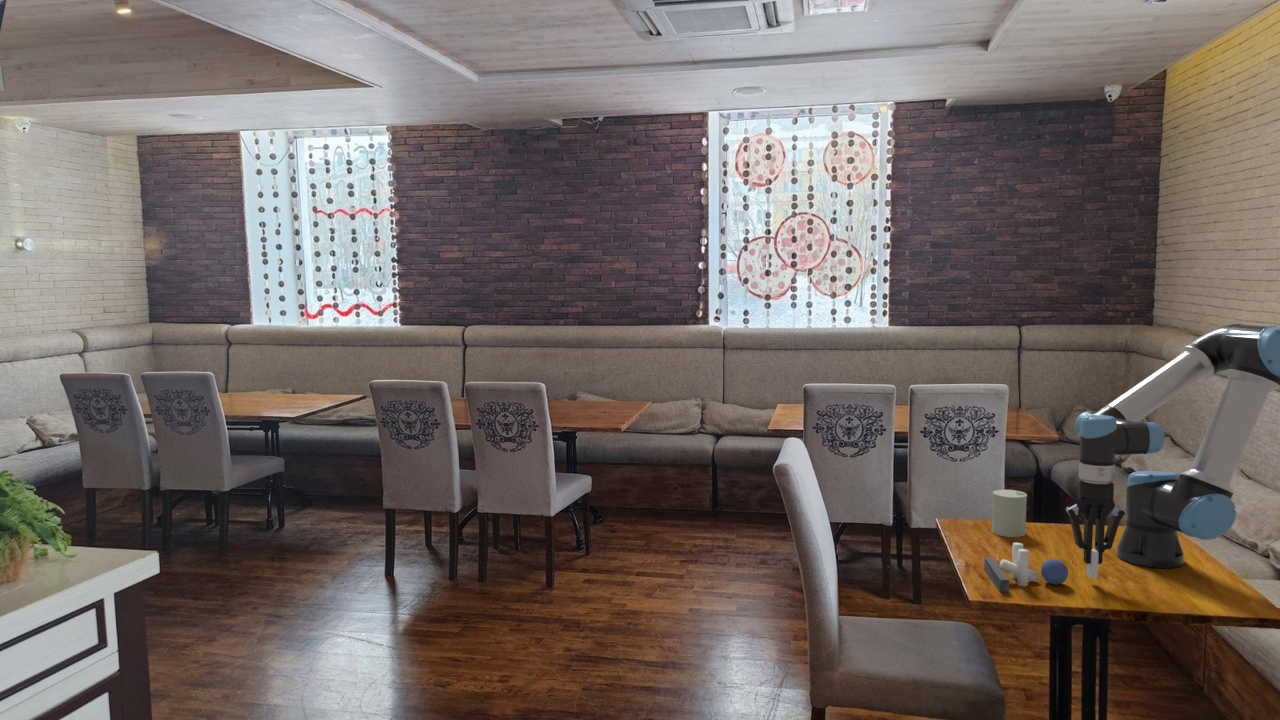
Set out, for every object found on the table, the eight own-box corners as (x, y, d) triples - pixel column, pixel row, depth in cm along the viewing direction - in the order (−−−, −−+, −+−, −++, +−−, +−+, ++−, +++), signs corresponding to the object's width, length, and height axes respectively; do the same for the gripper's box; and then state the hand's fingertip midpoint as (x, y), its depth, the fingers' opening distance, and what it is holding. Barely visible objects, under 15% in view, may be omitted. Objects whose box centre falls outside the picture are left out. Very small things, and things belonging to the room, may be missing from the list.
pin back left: (1026, 583, 214) (1027, 549, 213) (1029, 586, 212) (1030, 552, 211) (1015, 582, 214) (1017, 548, 213) (1018, 586, 212) (1019, 552, 211)
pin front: (1036, 571, 216) (1002, 558, 217) (1039, 574, 213) (1005, 560, 214) (1032, 580, 216) (998, 566, 217) (1035, 583, 214) (1001, 569, 215)
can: (1029, 538, 249) (1030, 496, 248) (994, 536, 251) (995, 495, 250) (1022, 528, 258) (1023, 488, 257) (988, 527, 260) (989, 487, 259)
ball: (1032, 561, 216) (1043, 581, 217) (1041, 572, 210) (1053, 593, 211) (1055, 550, 215) (1066, 570, 216) (1065, 561, 209) (1076, 581, 210)
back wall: (992, 569, 224) (992, 557, 224) (1008, 592, 208) (1009, 580, 208) (984, 569, 224) (984, 557, 224) (999, 592, 208) (1000, 579, 208)
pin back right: (1020, 576, 219) (1021, 542, 218) (1023, 579, 216) (1024, 545, 216) (1010, 575, 219) (1011, 542, 218) (1013, 579, 217) (1014, 545, 216)
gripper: (1072, 483, 208) (1068, 580, 210) (1131, 484, 206) (1127, 583, 208) (1062, 476, 215) (1058, 570, 217) (1119, 477, 213) (1115, 572, 215)
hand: (1092, 576), depth 213 cm, fingers closed
